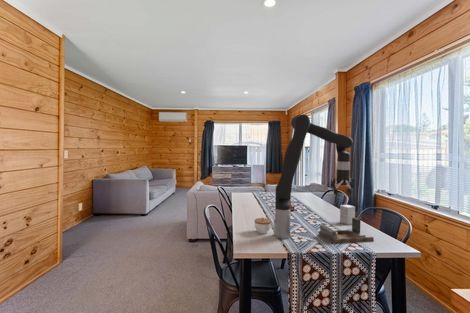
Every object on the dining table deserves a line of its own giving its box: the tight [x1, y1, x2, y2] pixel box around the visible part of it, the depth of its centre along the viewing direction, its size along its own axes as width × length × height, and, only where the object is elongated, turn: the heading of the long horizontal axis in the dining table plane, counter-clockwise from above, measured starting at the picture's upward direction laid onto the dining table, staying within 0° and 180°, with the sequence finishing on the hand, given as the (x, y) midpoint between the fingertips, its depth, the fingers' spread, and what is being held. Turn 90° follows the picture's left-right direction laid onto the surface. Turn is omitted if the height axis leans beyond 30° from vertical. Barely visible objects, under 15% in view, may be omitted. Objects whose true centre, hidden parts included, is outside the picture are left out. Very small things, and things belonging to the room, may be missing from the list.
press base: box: [318, 224, 375, 244], centre depth 140 cm, size 26×14×8 cm, turn 100°
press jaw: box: [346, 217, 367, 238], centre depth 141 cm, size 4×11×11 cm, turn 10°
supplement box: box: [339, 204, 356, 225], centre depth 174 cm, size 7×7×13 cm
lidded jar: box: [254, 217, 272, 235], centre depth 152 cm, size 11×11×9 cm
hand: (341, 194), depth 148 cm, fingers open, 8 cm apart
